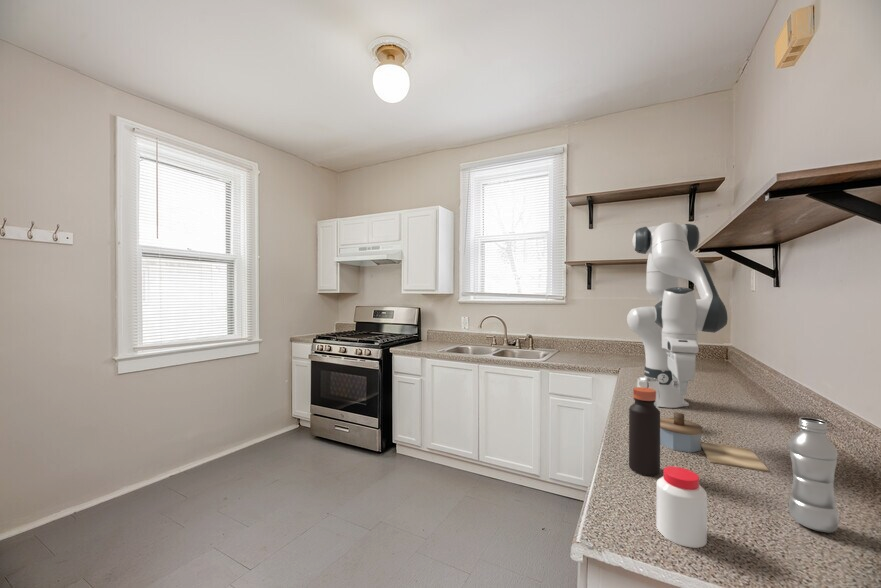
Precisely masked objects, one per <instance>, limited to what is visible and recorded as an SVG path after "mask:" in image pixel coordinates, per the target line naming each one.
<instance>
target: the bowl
mask: <svg viewBox="0 0 881 588" xmlns="http://www.w3.org/2000/svg"><path fill="white" fill-rule="evenodd" d="M701 442H702V433H701V434H696V435H687V434H679V433H674V432H670V431H667V430H664V429H662V428H660V446H661V445H662V446H663V447H665V448H668V449H670V450H672V451H679V452H685V453H694V452H699V451H701V450H702V448H701Z"/></svg>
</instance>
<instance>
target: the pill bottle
mask: <svg viewBox="0 0 881 588" xmlns="http://www.w3.org/2000/svg"><path fill="white" fill-rule="evenodd" d="M655 484H656V485H655V486H656V493H655V494H656V496H655V497H656V499H655V501H656V503H655V504H656V507H655V510H656V511H655V513H656V514H655V517H656V519H655V520H656V521H655V523H656V525H655V526H656V527H657V528H656V530H657V529H658V530H657V532H658V531H659V532H660V533H661V534H662V535H663V536H664V537H663V536H662V535H661V534H660V533H659V532H658V533H659V534H660V535H661V536H662V537H663V538H664V539H666V540H668V541H670V542H672V543H674V544H676V545H679V546H683V547H686V548H692V549H694V548H695V549H697V548H699V549H700V548H703V547H705V546H706V545H707V543H708V494H707V493H708V492H707V491H706V490H705V489H704V488H703V486H701V485H700V476H699V475H698V474H697V473H696V472H694V471H692V470H689V469H687V468H684V467H681V466H672V465H671V466H665V467H664V468H663V475H662V476H661V477H659V478H658V479H657V480H656V483H655Z"/></svg>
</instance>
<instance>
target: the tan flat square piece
mask: <svg viewBox="0 0 881 588" xmlns="http://www.w3.org/2000/svg"><path fill="white" fill-rule="evenodd" d="M701 450H702V451H703V453H704V454H705V456H706V457H707V460H708V461H709V462H710V463H712V464H719V465H724V466H731V467H735V468H736V467H737V468H741V469H742V468H744V469H749V470H754V471H755V470H756V471H759V472H761V471H762V472H767V473H770V471H771V470H770V469H769V468H768V467H767V466H766V465H765V464H764V463H763V461H762V460H761V459H760V458H759V457H758V456H757V454H755V452H754V451H753V450H752V449H750V448H746V447H740V446H731V445H726V444H725V445H724V444H719V443H718V444H717V443H712V442H704V441H701Z"/></svg>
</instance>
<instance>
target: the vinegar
mask: <svg viewBox="0 0 881 588" xmlns="http://www.w3.org/2000/svg"><path fill="white" fill-rule="evenodd" d="M632 398H633V401H634V403H632V404H631V405H630V407H629V409H628V420H629V421H628V467H629V469H631V470H632V471H633V472H634V473H637V474H639V475H643V476H647V477H651V476H652V477H653V476H658V475H659V474H660V473H661V444H660V418H661V412H660V409H659V408H658V409H657V408H656V407H655V405H654V402H656V401H655V400H656V391H655V390H653V389H650V388H644V387H637V386H636V387H634V388H633V395H632Z"/></svg>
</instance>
